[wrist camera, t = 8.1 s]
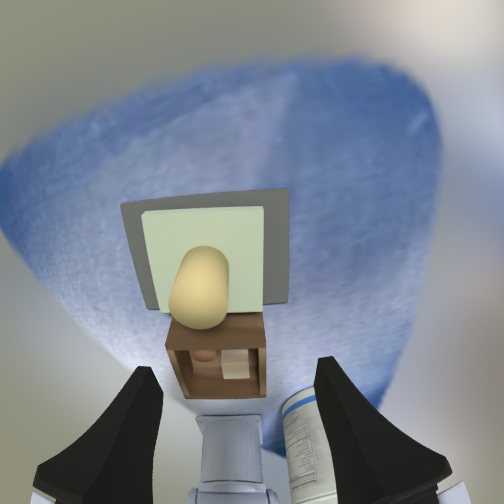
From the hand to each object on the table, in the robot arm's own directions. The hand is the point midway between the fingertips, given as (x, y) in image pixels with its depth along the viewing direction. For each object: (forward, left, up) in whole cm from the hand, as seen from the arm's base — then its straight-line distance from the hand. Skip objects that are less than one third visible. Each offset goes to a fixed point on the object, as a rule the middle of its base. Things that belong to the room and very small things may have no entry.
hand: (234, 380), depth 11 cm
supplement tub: (-19, -8, -10) cm, 23 cm away
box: (-7, +2, -10) cm, 12 cm away
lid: (+1, +2, -9) cm, 9 cm away
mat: (+1, +2, -10) cm, 10 cm away
